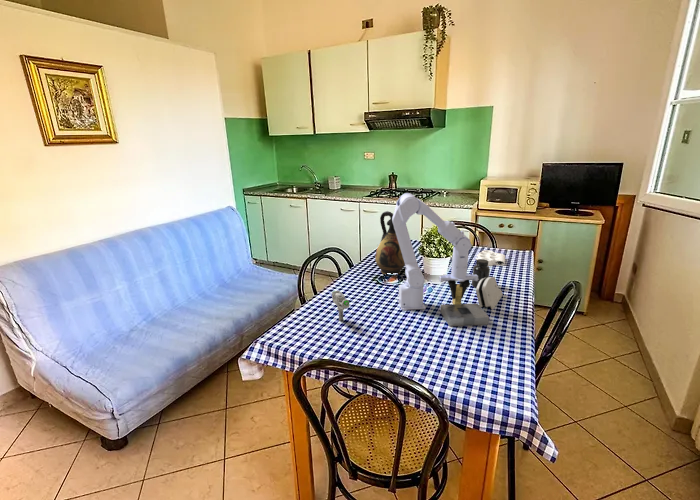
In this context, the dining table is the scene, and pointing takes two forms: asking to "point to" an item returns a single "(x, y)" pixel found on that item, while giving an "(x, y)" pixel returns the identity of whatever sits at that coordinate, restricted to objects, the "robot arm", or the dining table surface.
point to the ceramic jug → (389, 249)
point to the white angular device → (488, 292)
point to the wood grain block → (458, 295)
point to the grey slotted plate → (464, 314)
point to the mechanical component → (340, 302)
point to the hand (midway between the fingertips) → (457, 297)
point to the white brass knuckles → (492, 257)
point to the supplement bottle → (480, 271)
